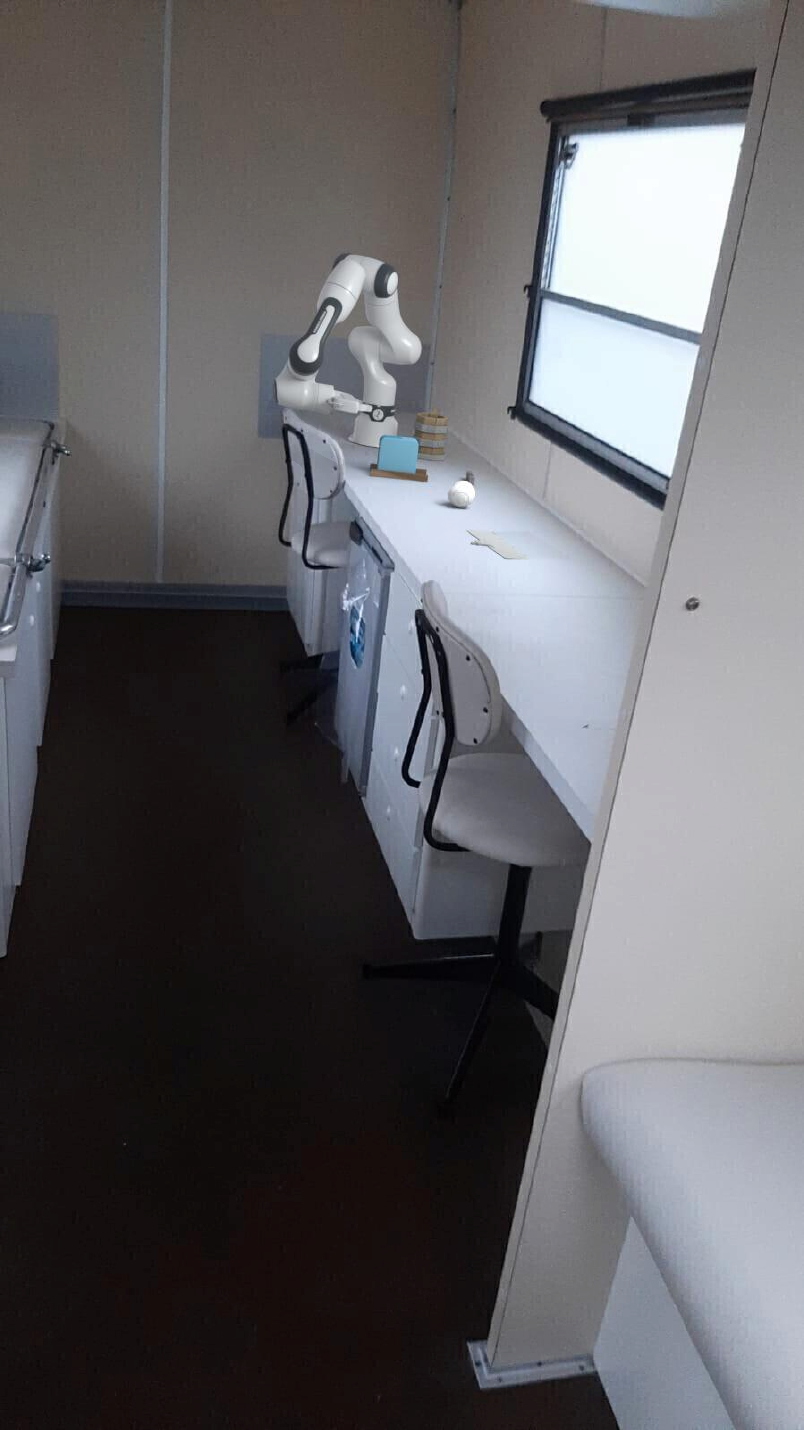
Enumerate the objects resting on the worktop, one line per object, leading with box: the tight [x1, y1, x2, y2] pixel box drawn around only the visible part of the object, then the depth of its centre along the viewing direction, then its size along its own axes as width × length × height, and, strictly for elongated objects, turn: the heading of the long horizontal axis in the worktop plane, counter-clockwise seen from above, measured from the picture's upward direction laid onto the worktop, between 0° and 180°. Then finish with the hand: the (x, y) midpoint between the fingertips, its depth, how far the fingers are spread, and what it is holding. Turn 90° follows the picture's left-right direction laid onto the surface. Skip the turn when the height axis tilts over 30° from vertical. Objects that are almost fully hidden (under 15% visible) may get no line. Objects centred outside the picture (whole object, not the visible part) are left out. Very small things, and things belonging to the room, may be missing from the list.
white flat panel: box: [466, 529, 529, 560], centre depth 300 cm, size 25×24×1 cm
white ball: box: [447, 480, 476, 508], centre depth 329 cm, size 8×8×8 cm
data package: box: [376, 435, 418, 473], centre depth 356 cm, size 12×4×12 cm, turn 94°
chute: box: [369, 462, 476, 487], centre depth 358 cm, size 10×33×3 cm, turn 92°
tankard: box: [411, 407, 449, 462], centre depth 392 cm, size 20×13×15 cm, turn 171°
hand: (369, 407), depth 349 cm, fingers open, 8 cm apart
